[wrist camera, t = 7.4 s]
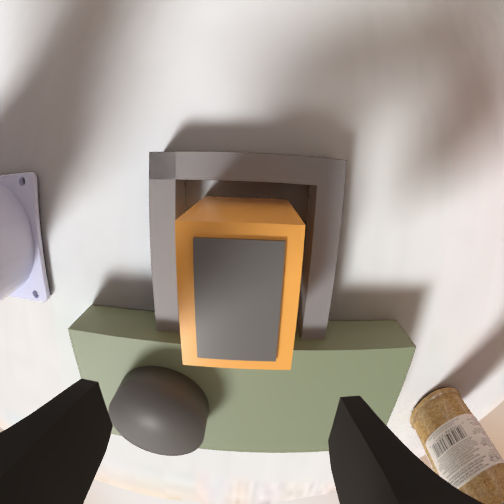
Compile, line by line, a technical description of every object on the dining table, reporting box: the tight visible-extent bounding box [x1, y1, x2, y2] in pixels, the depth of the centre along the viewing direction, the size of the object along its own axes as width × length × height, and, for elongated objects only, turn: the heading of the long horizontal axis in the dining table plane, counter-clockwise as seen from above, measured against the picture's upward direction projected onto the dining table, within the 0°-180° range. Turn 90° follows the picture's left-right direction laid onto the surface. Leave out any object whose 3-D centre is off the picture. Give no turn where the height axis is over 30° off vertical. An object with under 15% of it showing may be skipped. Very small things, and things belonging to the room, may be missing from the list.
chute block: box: [175, 196, 305, 370], centre depth 13 cm, size 4×5×6 cm
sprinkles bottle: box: [410, 387, 504, 504], centre depth 13 cm, size 5×5×13 cm
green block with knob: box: [68, 152, 416, 456], centre depth 15 cm, size 18×17×5 cm
